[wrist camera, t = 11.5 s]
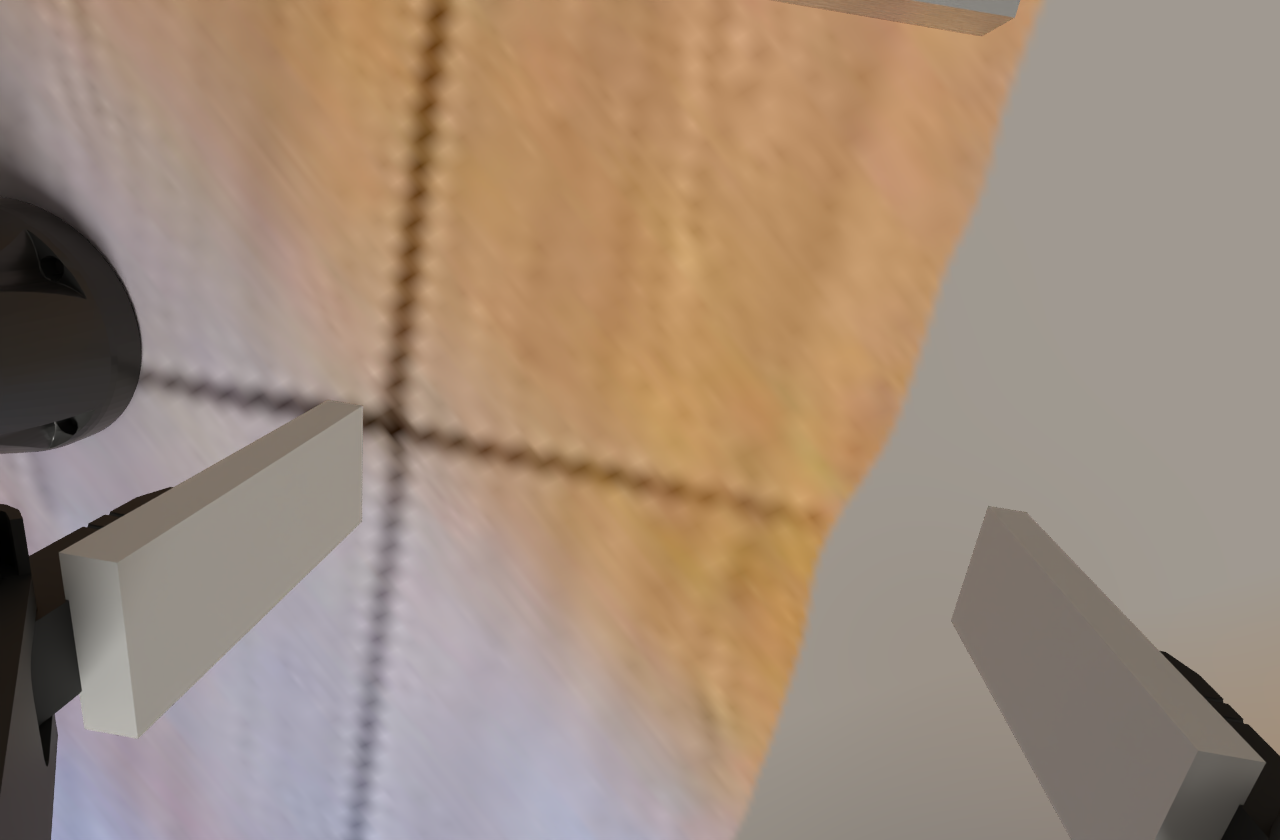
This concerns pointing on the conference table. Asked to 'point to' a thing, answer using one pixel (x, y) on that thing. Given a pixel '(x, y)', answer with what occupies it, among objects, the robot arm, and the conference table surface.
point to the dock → (927, 12)
